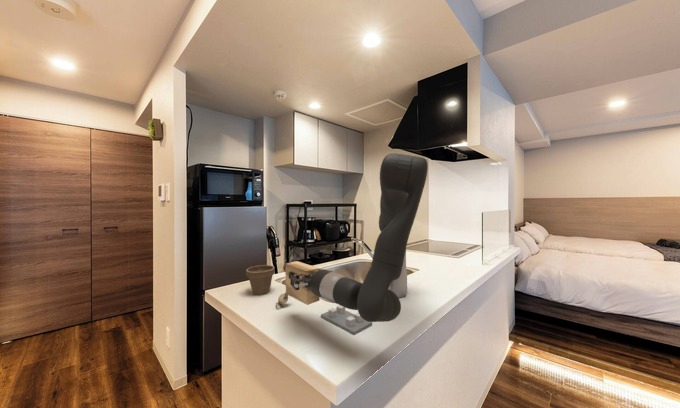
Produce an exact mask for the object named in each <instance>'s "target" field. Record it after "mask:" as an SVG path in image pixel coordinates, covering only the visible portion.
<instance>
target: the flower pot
mask: <svg viewBox="0 0 680 408" xmlns="http://www.w3.org/2000/svg"><path fill="white" fill-rule="evenodd" d="M275 273H276V272H275V266H273V265H268V264H262V265H261V264H260V265H255V266H250V267H248V268H247V269H246V270H245V274H246V277H247V278H248V280H249V284H250V288H251V290H252V293H253V295H256V296H261V295H265V294H268V293H269V292H270V290H271V286H272V279H273V276H274V275H275Z"/></svg>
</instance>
